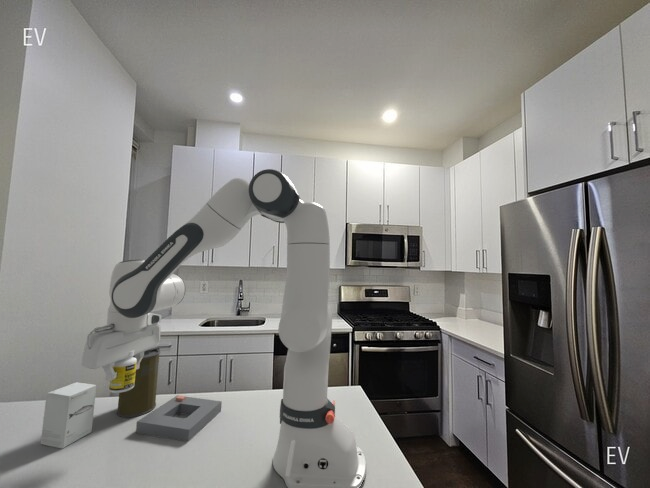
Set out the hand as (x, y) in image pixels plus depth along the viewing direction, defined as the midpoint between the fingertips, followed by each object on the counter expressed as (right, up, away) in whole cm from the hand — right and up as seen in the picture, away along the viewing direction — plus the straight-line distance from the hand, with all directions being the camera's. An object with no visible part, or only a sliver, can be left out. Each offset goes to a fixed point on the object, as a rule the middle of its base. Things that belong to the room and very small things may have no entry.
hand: (123, 374), depth 73 cm
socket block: (+10, -18, +10) cm, 23 cm away
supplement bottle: (0, -4, 0) cm, 4 cm away
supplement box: (-15, -17, 0) cm, 23 cm away
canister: (-7, -19, +16) cm, 25 cm away
